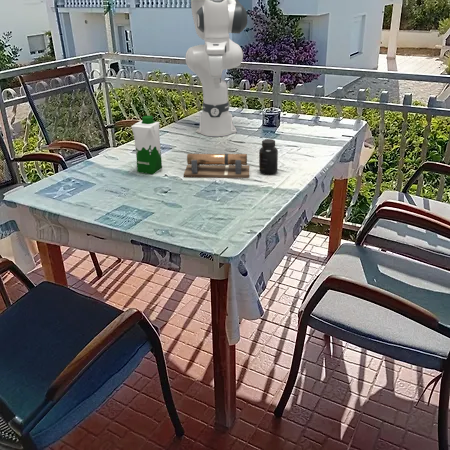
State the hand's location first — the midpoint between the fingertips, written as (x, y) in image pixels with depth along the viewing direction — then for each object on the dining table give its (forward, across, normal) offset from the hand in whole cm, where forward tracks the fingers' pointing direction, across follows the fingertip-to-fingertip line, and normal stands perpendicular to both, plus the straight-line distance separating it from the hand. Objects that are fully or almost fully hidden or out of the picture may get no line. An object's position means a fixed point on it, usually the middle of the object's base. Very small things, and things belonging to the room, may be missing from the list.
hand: (218, 85), depth 177 cm
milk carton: (+29, +12, -26) cm, 41 cm away
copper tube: (+26, +14, 0) cm, 30 cm away
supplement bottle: (+29, +13, +19) cm, 37 cm away
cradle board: (+29, +14, 0) cm, 32 cm away
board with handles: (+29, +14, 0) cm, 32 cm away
